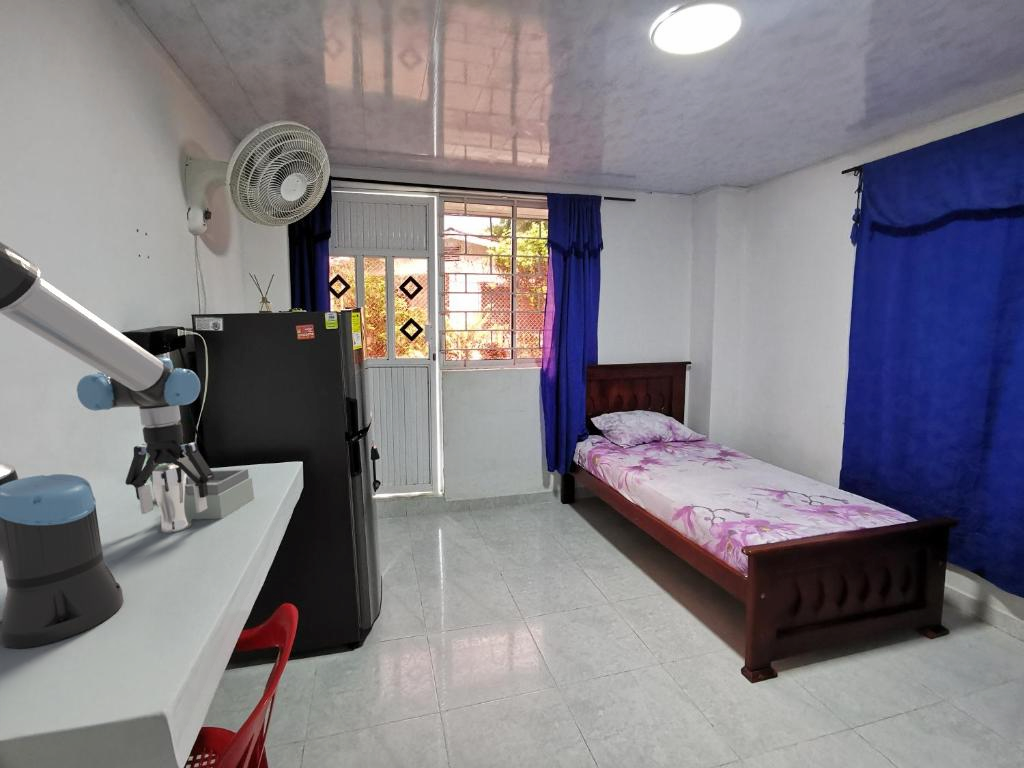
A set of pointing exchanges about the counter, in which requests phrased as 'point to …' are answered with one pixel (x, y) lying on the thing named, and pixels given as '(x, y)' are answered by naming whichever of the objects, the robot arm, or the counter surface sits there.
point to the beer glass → (171, 497)
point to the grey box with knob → (222, 494)
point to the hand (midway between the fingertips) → (174, 511)
